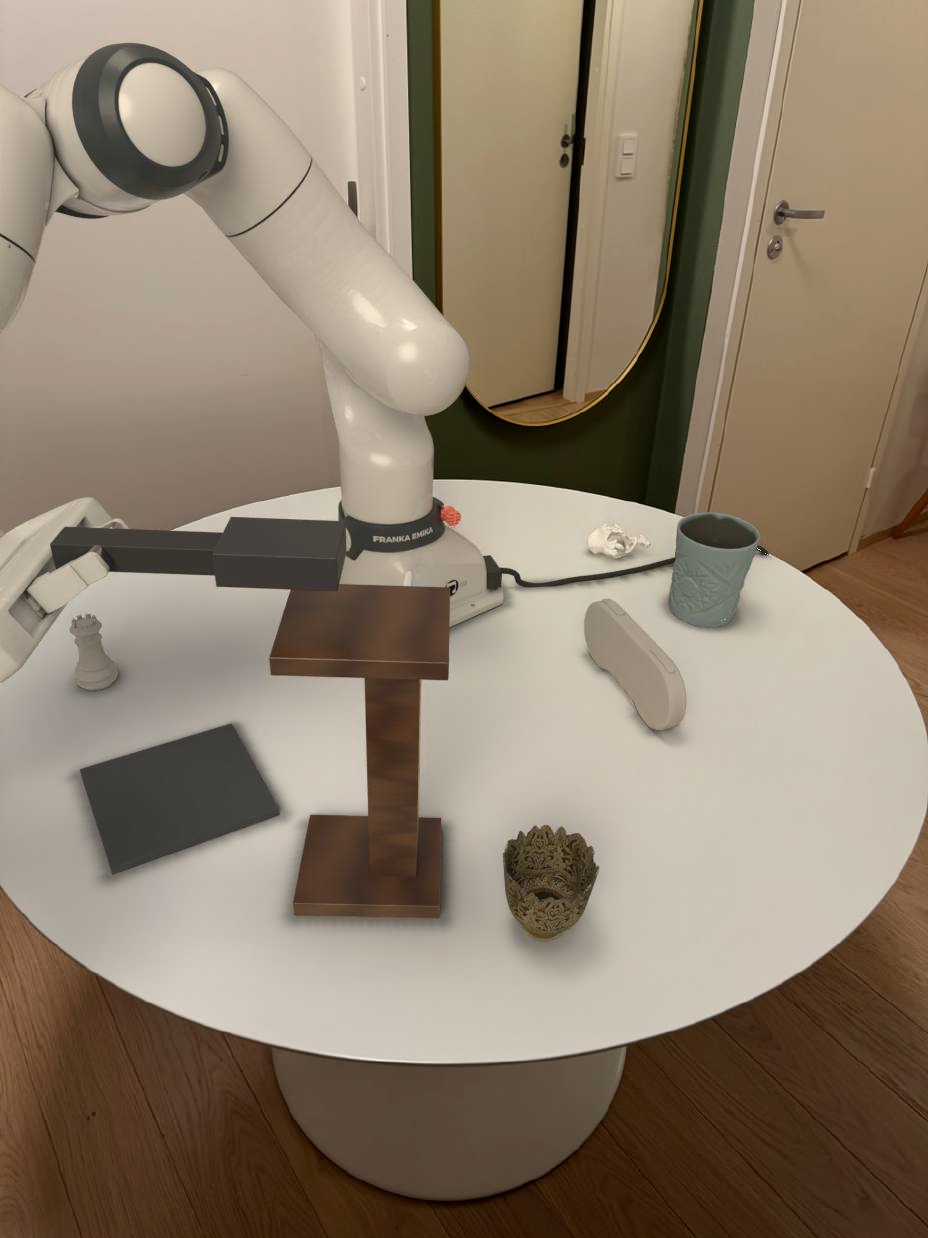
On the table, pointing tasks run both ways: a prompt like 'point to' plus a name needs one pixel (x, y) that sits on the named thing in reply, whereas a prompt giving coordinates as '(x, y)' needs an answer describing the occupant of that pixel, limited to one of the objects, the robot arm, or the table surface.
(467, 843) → the table surface
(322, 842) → the stand
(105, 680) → the rook chess piece
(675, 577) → the teal embossed pot
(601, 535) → the pelvis model
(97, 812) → the mat
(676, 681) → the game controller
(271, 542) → the block with square shaft
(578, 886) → the cup
